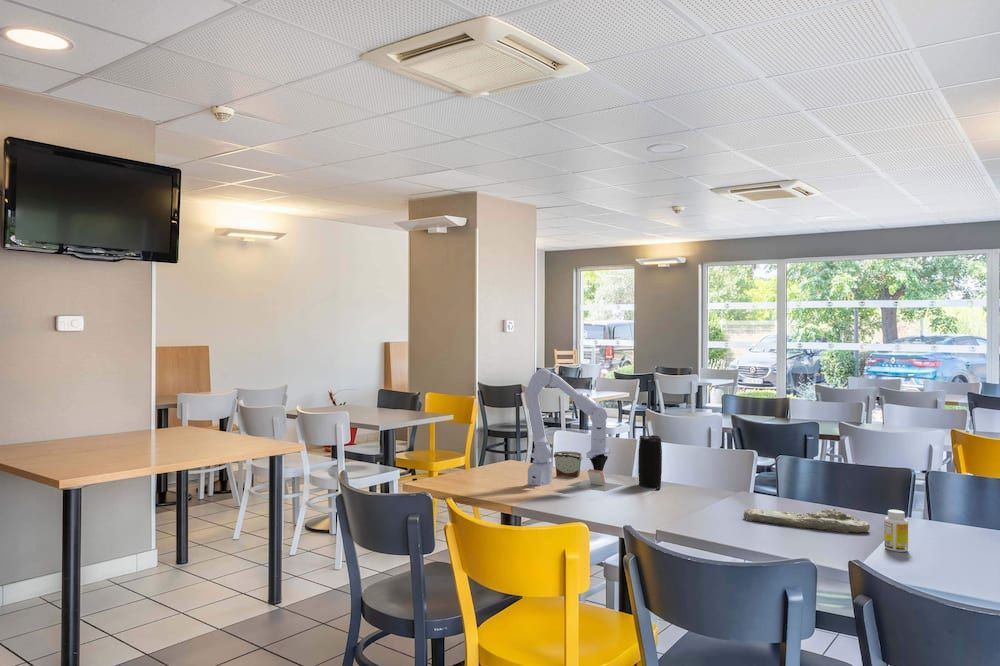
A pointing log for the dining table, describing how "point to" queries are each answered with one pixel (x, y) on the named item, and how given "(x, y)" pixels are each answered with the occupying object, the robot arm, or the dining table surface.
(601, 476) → the tile
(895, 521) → the supplement bottle
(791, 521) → the long grey stone
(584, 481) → the slate board
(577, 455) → the food container
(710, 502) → the dining table surface
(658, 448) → the portable speaker
